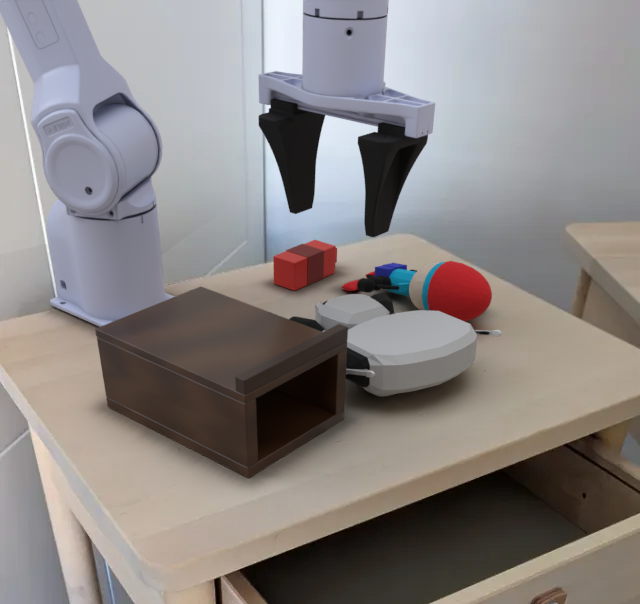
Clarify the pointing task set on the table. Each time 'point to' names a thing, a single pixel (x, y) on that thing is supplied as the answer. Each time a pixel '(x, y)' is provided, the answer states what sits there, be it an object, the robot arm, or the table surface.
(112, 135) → the robot arm
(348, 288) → the toy figure
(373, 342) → the robot toy
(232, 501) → the table surface
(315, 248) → the red block
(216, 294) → the shelf
